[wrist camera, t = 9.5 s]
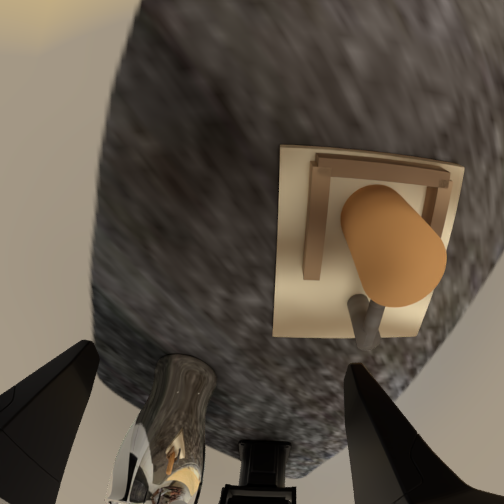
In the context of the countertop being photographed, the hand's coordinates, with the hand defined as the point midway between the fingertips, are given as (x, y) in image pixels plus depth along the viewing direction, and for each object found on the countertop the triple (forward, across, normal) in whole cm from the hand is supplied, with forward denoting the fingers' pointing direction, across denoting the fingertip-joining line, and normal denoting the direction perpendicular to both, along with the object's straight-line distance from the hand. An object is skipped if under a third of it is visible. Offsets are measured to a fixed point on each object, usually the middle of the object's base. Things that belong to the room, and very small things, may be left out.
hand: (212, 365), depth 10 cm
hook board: (+12, -8, +2) cm, 15 cm away
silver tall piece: (+12, +6, +16) cm, 21 cm away
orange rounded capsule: (+11, -8, -1) cm, 14 cm away
